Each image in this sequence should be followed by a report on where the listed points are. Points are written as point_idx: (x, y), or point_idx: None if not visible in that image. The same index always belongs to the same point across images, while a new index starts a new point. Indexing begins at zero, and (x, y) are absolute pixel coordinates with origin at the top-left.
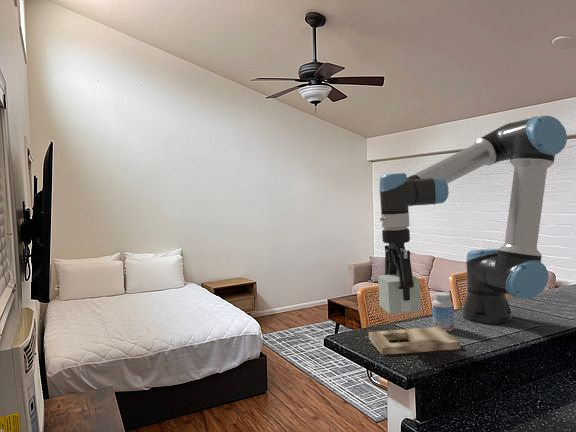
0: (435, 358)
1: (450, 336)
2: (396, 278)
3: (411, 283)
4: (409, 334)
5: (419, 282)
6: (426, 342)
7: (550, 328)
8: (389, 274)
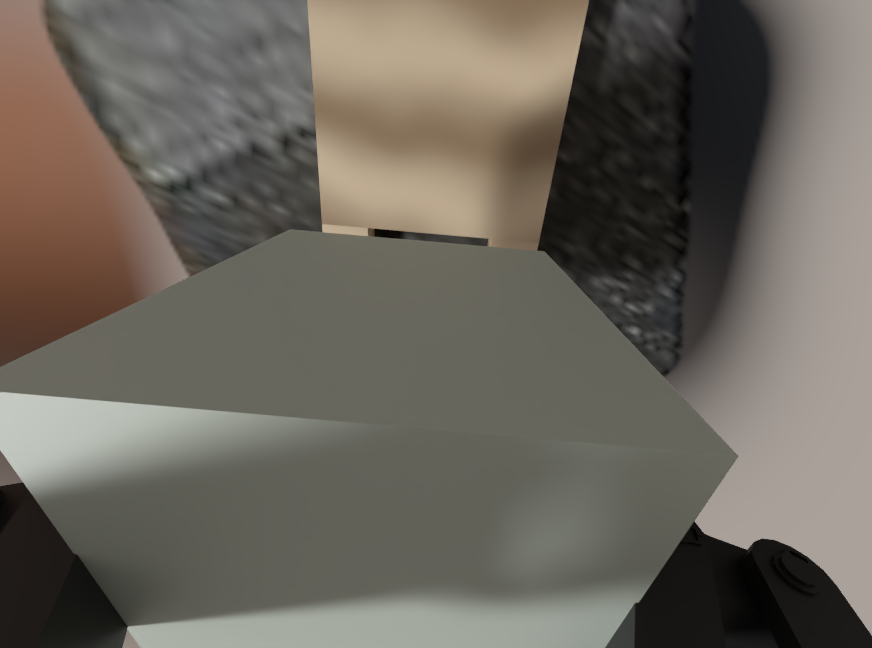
0: (613, 211)
1: (491, 4)
2: (417, 643)
3: (827, 625)
4: (399, 228)
5: (686, 412)
6: (523, 201)
7: None
8: (121, 625)
